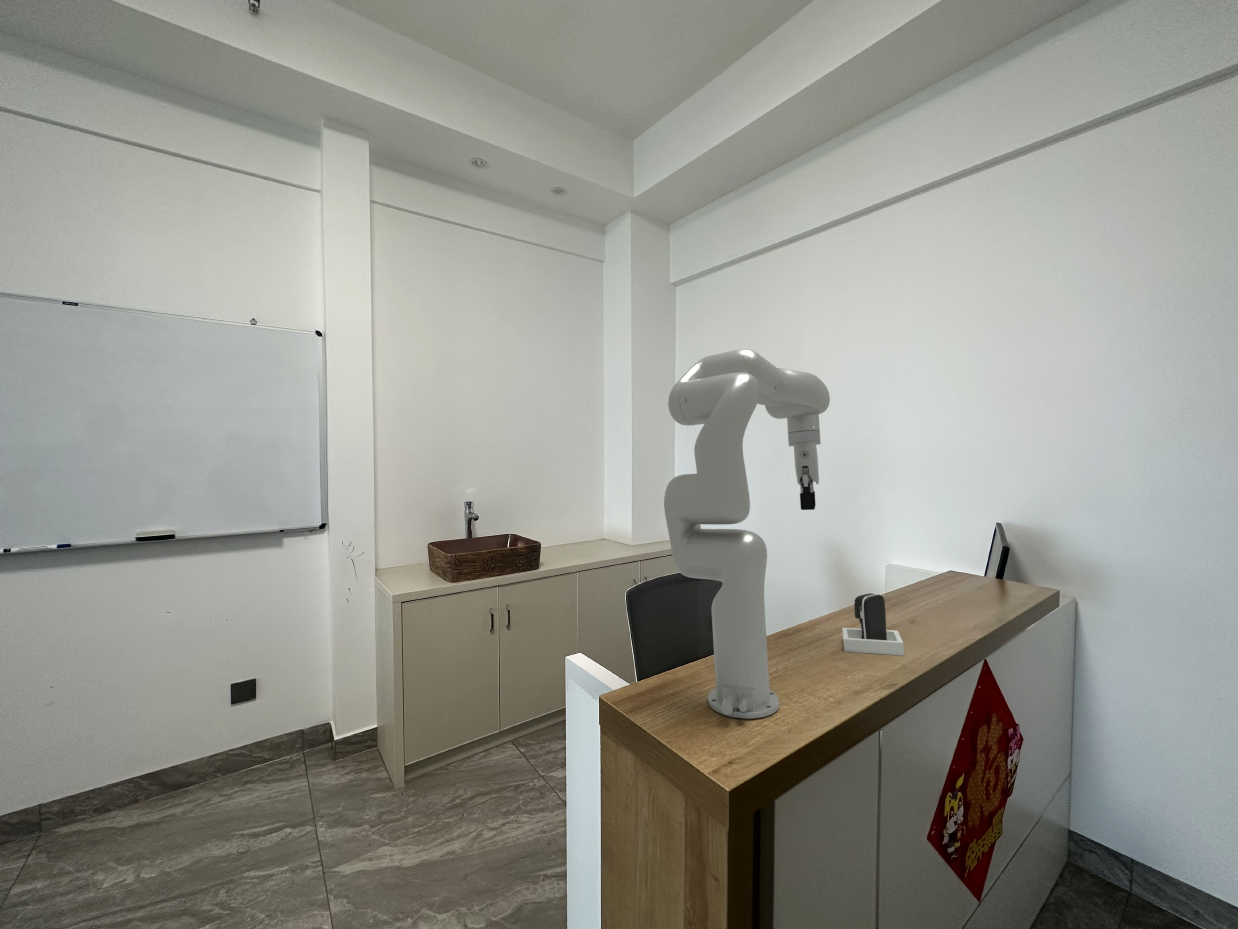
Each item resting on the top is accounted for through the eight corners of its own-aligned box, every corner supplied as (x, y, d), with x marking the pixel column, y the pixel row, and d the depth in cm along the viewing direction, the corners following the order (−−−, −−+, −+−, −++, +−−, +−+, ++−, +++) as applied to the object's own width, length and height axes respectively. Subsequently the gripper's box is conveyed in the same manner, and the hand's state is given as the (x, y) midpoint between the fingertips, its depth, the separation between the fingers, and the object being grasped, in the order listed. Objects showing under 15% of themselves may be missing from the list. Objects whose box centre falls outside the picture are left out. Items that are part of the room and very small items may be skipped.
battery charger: (873, 638, 122) (870, 590, 122) (888, 643, 118) (885, 593, 119) (854, 644, 119) (850, 595, 119) (868, 649, 115) (865, 598, 115)
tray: (904, 655, 112) (903, 642, 112) (844, 651, 116) (843, 639, 116) (898, 642, 120) (897, 630, 120) (843, 639, 124) (842, 627, 125)
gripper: (820, 436, 117) (824, 510, 117) (820, 440, 133) (824, 505, 133) (786, 438, 120) (790, 511, 120) (790, 442, 136) (794, 506, 136)
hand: (808, 508), depth 126 cm, fingers open, 9 cm apart
